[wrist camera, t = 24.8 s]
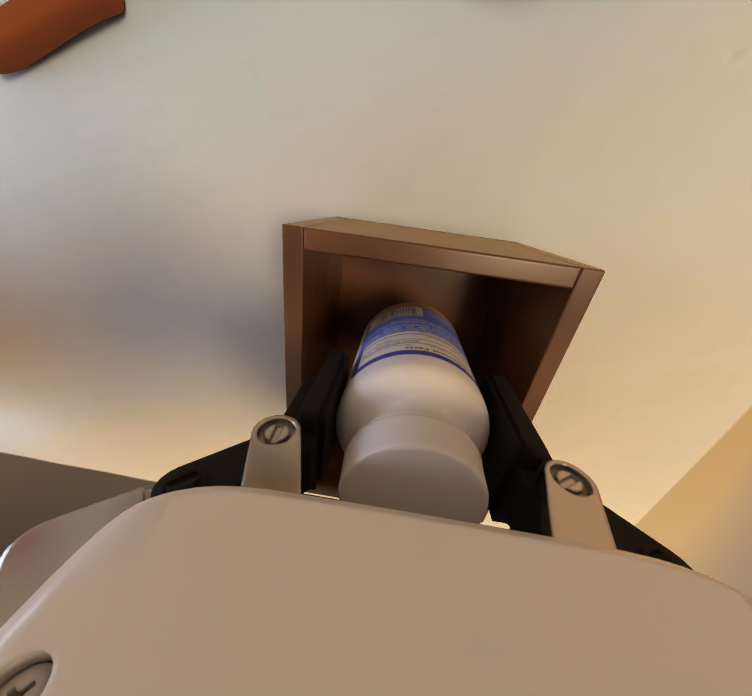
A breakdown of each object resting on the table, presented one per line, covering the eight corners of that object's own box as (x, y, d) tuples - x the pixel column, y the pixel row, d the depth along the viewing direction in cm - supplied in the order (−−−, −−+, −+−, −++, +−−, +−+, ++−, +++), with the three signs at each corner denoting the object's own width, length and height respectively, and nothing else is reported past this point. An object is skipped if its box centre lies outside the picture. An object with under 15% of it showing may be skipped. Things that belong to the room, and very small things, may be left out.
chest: (335, 216, 18) (281, 224, 10) (518, 242, 18) (606, 270, 10) (325, 399, 25) (288, 489, 17) (458, 421, 24) (482, 523, 16)
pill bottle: (430, 397, 18) (454, 583, 9) (348, 365, 17) (290, 529, 8) (476, 322, 15) (571, 476, 6) (382, 282, 15) (351, 393, 6)
